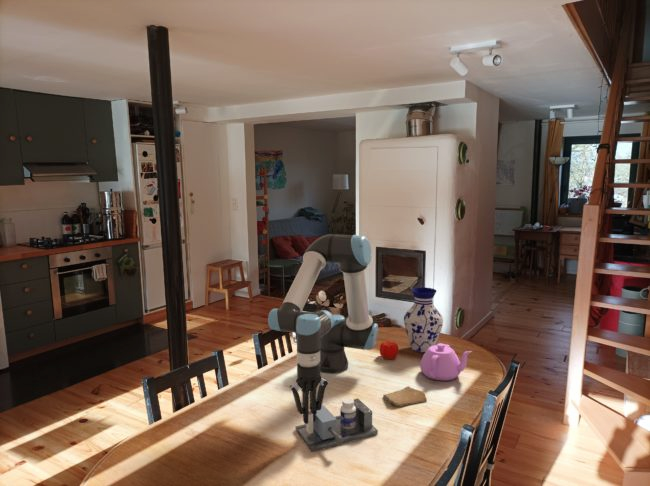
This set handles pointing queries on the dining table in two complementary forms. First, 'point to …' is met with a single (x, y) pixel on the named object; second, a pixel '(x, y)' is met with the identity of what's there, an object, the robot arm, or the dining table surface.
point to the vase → (423, 320)
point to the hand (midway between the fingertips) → (309, 431)
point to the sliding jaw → (326, 425)
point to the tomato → (389, 350)
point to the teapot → (442, 362)
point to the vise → (341, 430)
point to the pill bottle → (348, 413)
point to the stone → (405, 397)
